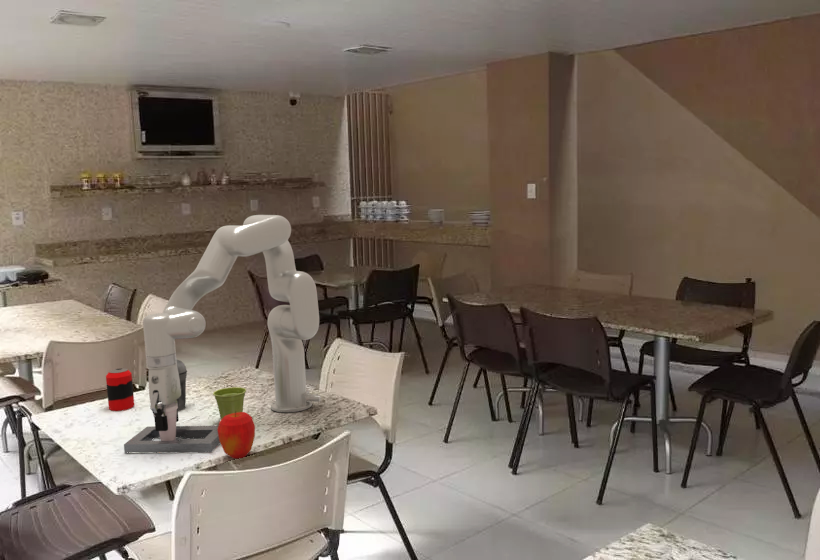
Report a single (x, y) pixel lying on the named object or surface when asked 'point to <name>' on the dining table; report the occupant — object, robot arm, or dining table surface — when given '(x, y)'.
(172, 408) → the smoothie
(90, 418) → the dining table surface
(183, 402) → the beverage cup
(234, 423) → the apple
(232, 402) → the plant pot
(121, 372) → the soda can
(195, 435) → the keyhole plate
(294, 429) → the dining table surface
